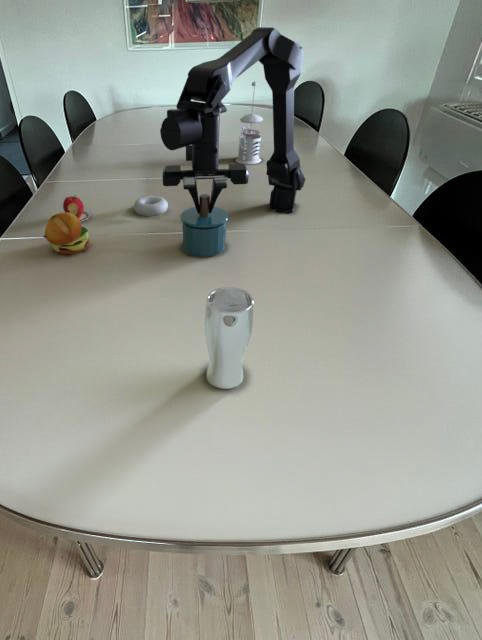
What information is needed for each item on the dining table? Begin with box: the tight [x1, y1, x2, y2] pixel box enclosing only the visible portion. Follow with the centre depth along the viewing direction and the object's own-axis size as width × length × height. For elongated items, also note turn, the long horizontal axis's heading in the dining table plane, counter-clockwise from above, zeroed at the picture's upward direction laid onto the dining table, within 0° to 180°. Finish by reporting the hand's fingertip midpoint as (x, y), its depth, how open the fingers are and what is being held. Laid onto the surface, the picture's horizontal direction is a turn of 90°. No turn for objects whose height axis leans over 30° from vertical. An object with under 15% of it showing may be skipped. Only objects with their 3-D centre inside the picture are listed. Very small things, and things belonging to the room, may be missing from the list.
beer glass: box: [204, 286, 255, 390], centre depth 62 cm, size 7×7×15 cm
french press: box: [235, 81, 264, 165], centre depth 146 cm, size 10×12×25 cm
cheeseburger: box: [43, 211, 90, 255], centre depth 101 cm, size 10×11×10 cm
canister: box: [181, 221, 227, 258], centre depth 99 cm, size 10×10×7 cm
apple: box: [62, 194, 91, 223], centre depth 115 cm, size 8×8×6 cm
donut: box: [133, 195, 169, 217], centre depth 119 cm, size 10×4×10 cm
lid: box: [179, 193, 229, 228], centre depth 95 cm, size 11×11×6 cm
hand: (204, 212), depth 96 cm, fingers closed on lid, 2 cm apart
